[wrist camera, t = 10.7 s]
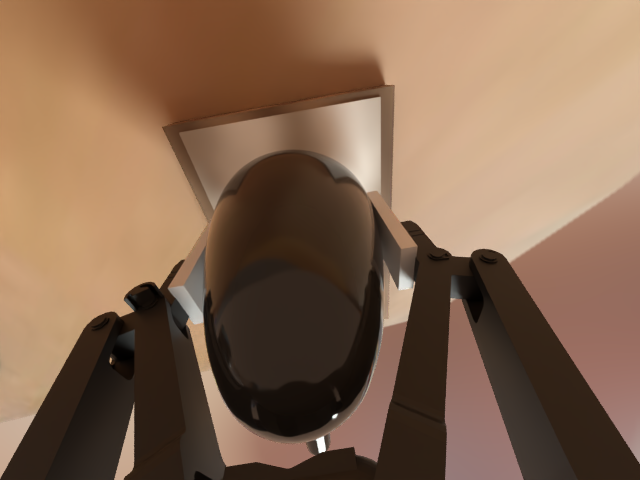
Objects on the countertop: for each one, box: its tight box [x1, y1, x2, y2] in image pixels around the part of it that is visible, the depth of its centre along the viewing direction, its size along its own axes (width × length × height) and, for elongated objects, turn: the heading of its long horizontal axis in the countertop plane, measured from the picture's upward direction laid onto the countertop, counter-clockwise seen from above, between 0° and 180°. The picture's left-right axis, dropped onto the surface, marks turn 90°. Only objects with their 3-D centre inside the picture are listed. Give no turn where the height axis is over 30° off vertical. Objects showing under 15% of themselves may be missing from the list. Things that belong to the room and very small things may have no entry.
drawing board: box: [162, 85, 395, 319], centre depth 22 cm, size 16×25×6 cm, turn 9°
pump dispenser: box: [202, 150, 385, 455], centre depth 13 cm, size 10×10×15 cm
